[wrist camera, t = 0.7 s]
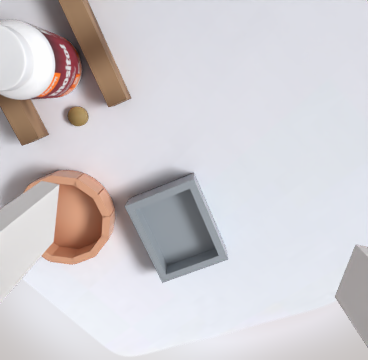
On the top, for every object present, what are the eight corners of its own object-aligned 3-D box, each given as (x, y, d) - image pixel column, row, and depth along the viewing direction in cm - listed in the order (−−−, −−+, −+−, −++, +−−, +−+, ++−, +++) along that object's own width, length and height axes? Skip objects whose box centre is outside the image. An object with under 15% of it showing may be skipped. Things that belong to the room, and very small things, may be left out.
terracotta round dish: (11, 189, 38) (-2, 197, 36) (90, 156, 37) (82, 161, 35) (54, 263, 41) (45, 275, 38) (129, 234, 40) (125, 245, 37)
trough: (129, 198, 38) (124, 206, 36) (194, 172, 37) (193, 179, 35) (164, 270, 41) (162, 282, 38) (226, 248, 40) (228, 259, 37)
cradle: (-26, 33, 34) (-43, 29, 32) (78, -20, 32) (69, -28, 30) (35, 145, 37) (24, 150, 35) (133, 102, 35) (129, 104, 33)
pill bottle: (78, 104, 36) (29, 112, 25) (21, 88, 35) (-53, 90, 25) (89, 43, 34) (41, 24, 23) (29, 26, 34) (-47, -1, 23)
